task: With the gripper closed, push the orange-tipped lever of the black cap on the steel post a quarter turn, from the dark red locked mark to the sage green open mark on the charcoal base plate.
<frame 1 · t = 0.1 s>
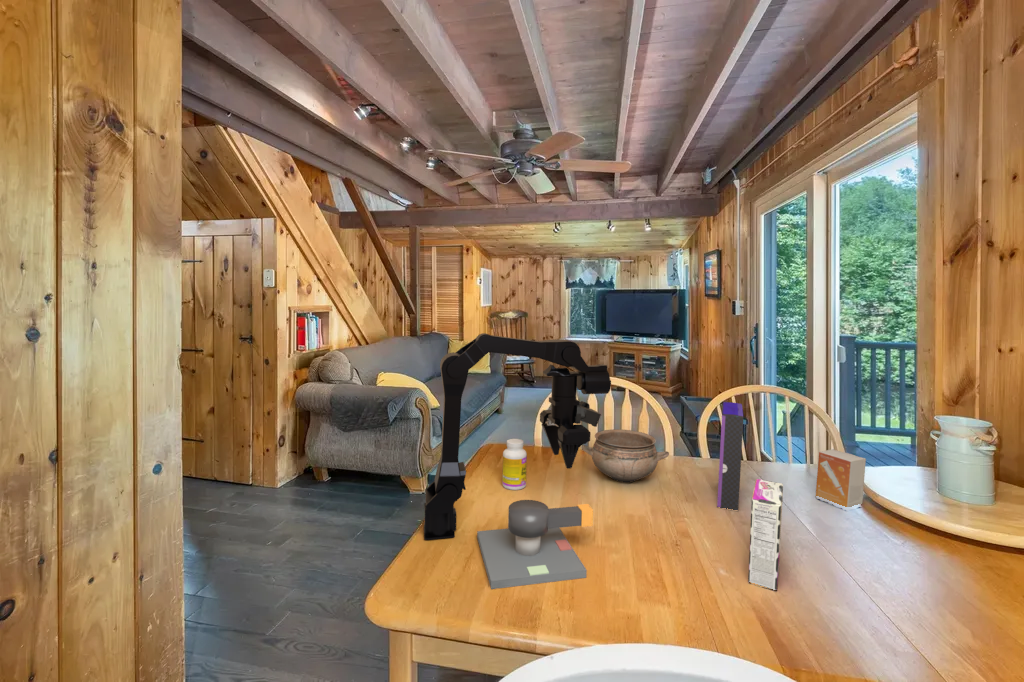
hand: (562, 461, 105), 15 cm above the table, tool pointing down, fingers open, 9 cm apart
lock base: (527, 556, 91), on the table
supplement bottle: (514, 486, 126), on the table
cooking pot: (623, 478, 133), on the table
candy bar box: (763, 573, 87), on the table
bayonet cap: (550, 516, 91), point 8 cm above the table, hinge at 0.0°
small box: (838, 504, 118), on the table
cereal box: (727, 497, 121), on the table
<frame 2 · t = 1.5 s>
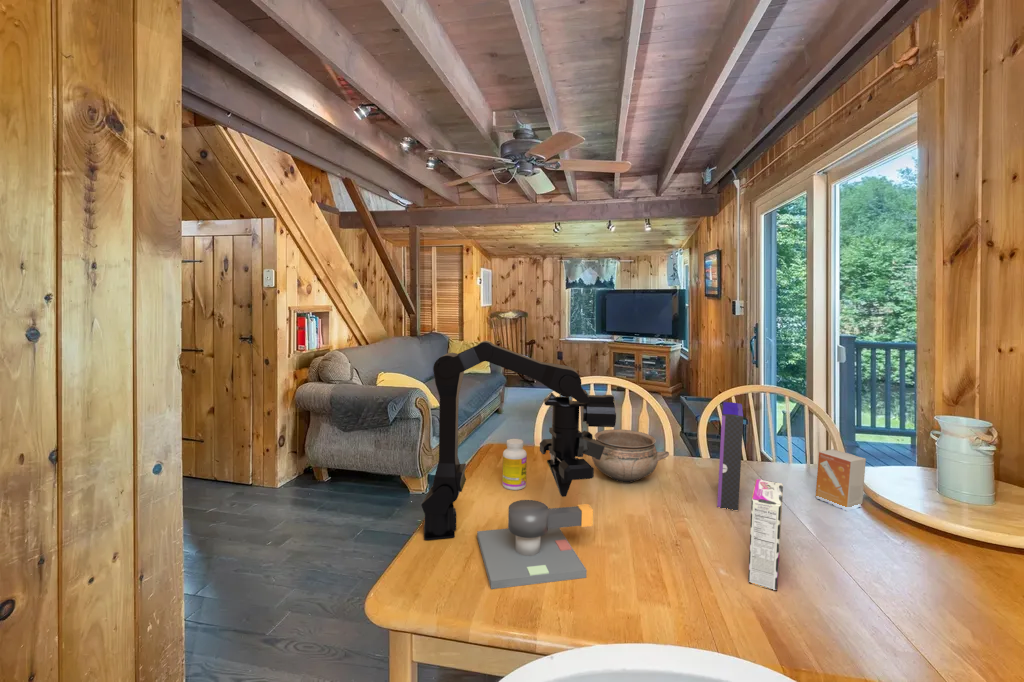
hand: (563, 496, 98), 9 cm above the table, tool pointing down, fingers closed
nothing on the table moved.
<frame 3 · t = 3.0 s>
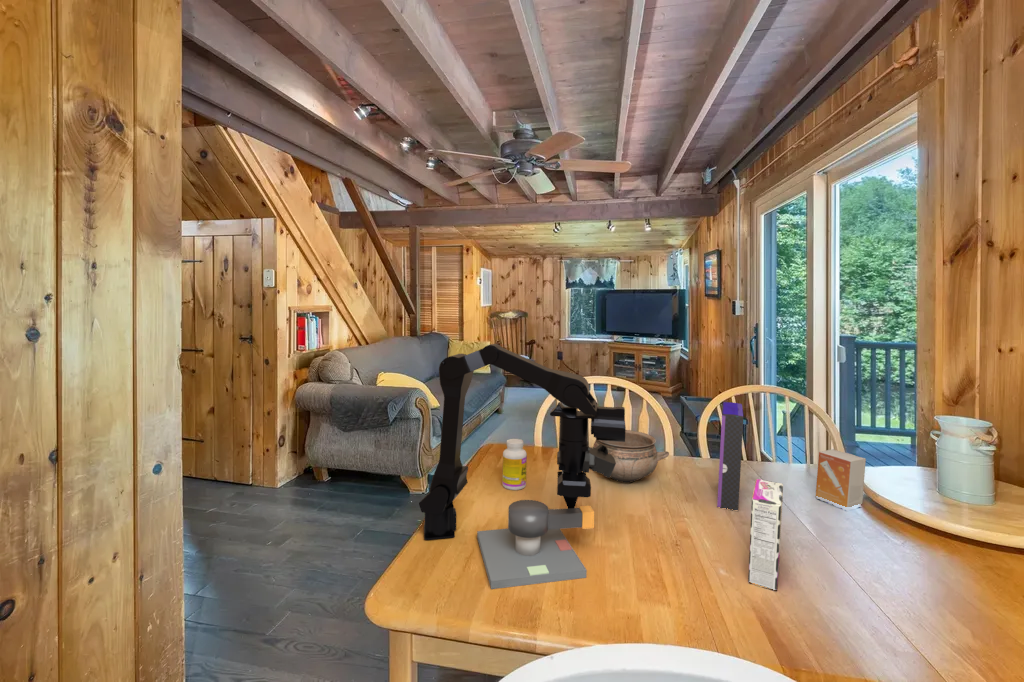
hand: (571, 510, 94), 8 cm above the table, tool pointing down, fingers closed
bayonet cap: (550, 517, 91), point 8 cm above the table, hinge at -3.9°, touching gripper
everything else where it was.
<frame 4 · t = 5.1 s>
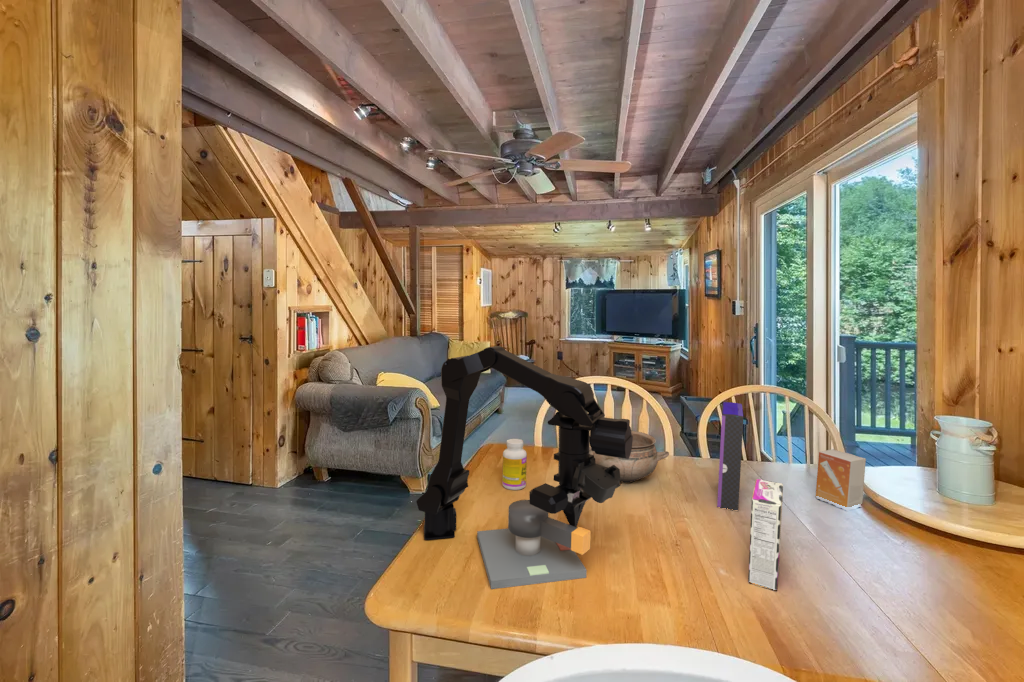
hand: (573, 528, 86), 8 cm above the table, tool pointing down, fingers closed
bayonet cap: (547, 525, 88), point 8 cm above the table, hinge at -50.8°, touching gripper
everything else where it was.
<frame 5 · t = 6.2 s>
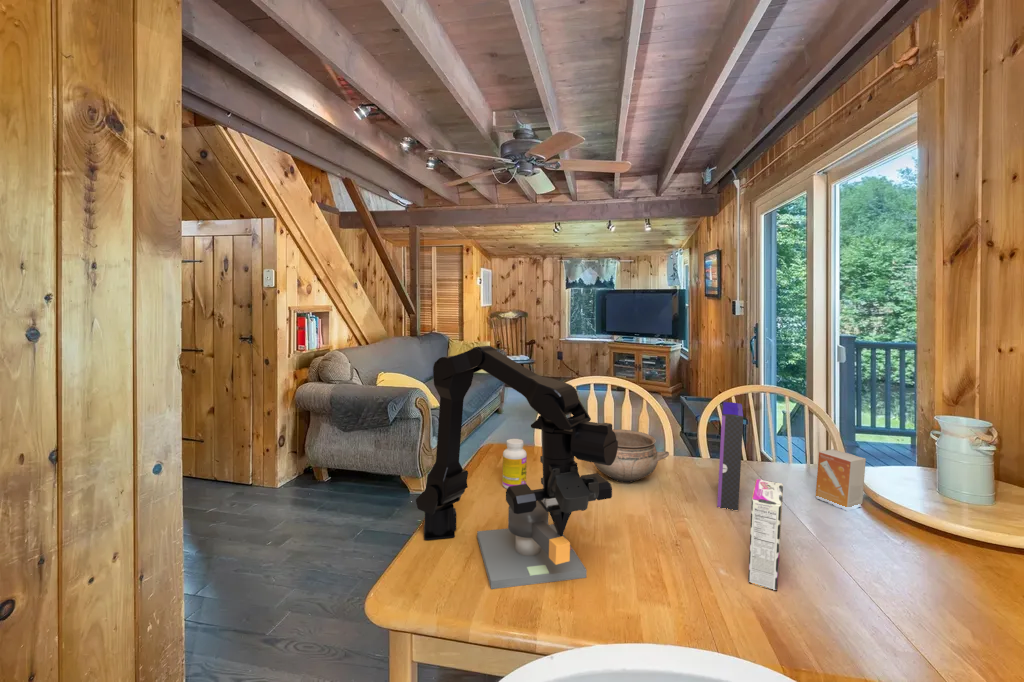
hand: (560, 537, 83), 8 cm above the table, tool pointing down, fingers closed
bayonet cap: (539, 528, 86), point 8 cm above the table, hinge at -77.2°, touching gripper
everything else where it was.
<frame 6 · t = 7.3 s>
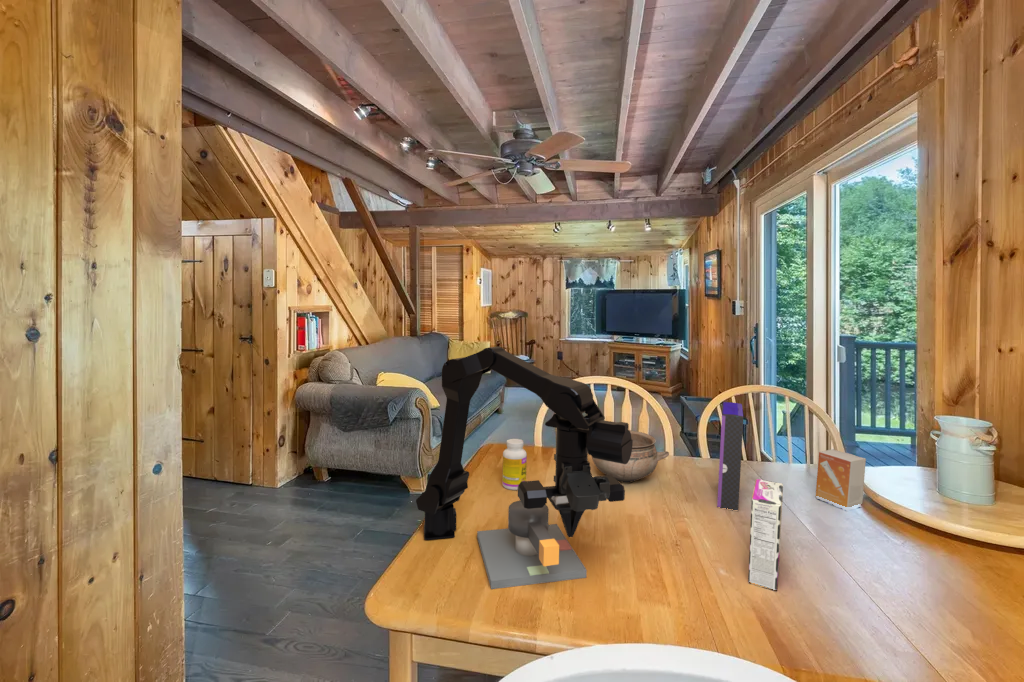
hand: (569, 536, 83), 8 cm above the table, tool pointing down, fingers closed
bayonet cap: (535, 529, 86), point 8 cm above the table, hinge at -86.8°
everything else where it was.
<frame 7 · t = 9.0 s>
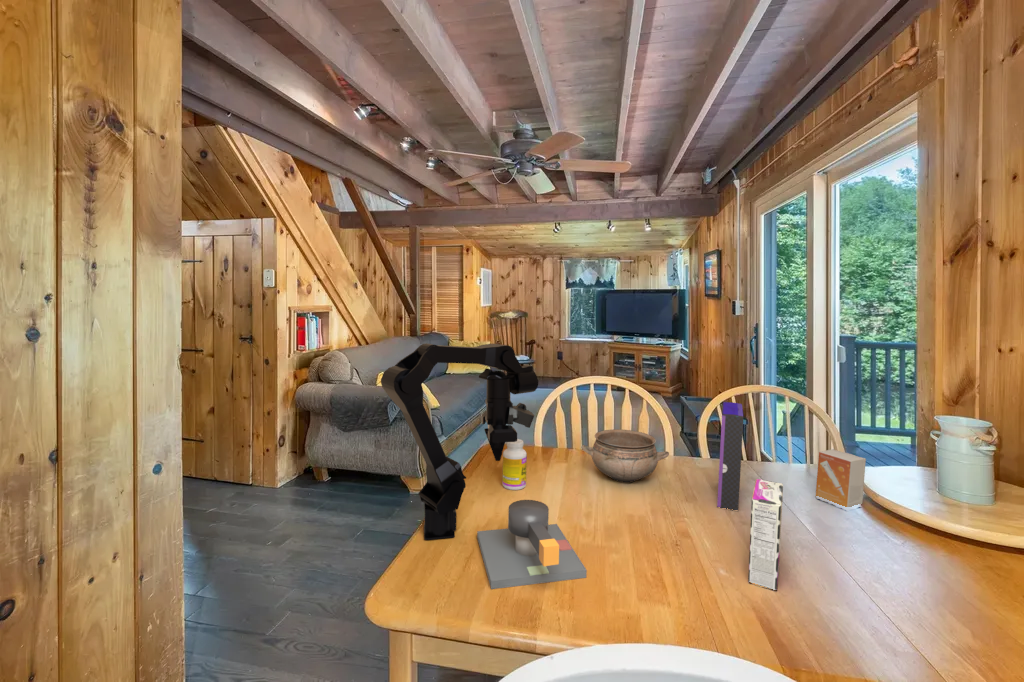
hand: (497, 460, 109), 13 cm above the table, tool pointing down, fingers closed
nothing on the table moved.
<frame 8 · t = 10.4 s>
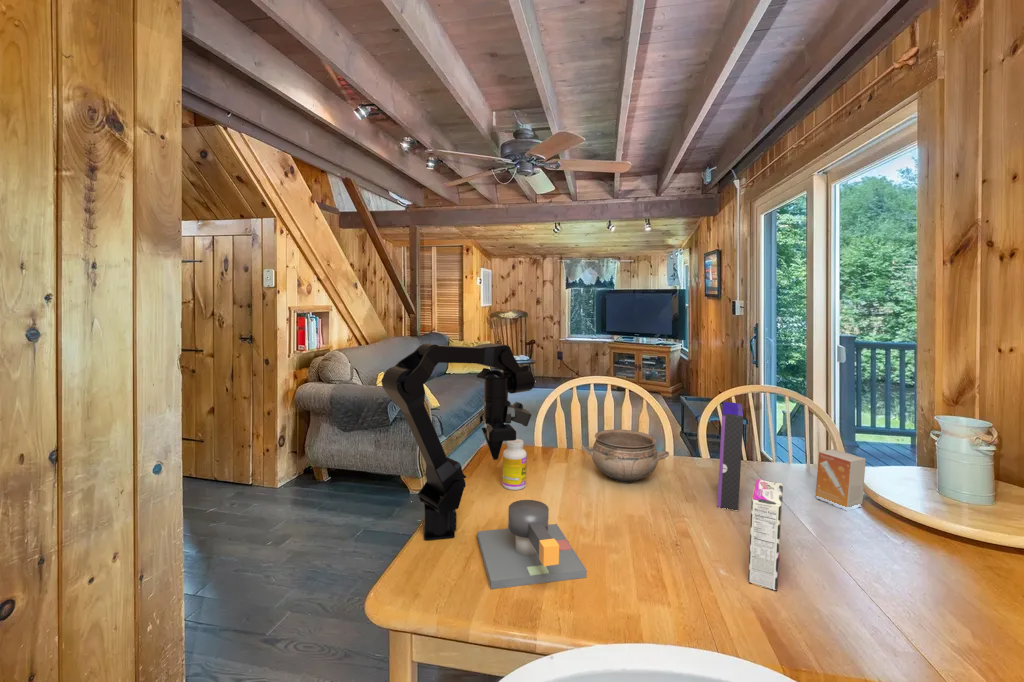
hand: (495, 459, 110), 13 cm above the table, tool pointing down, fingers closed
nothing on the table moved.
at the end: bayonet cap at -87° (first picture: +0°); supplement bottle moved 0.2 cm from its start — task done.
